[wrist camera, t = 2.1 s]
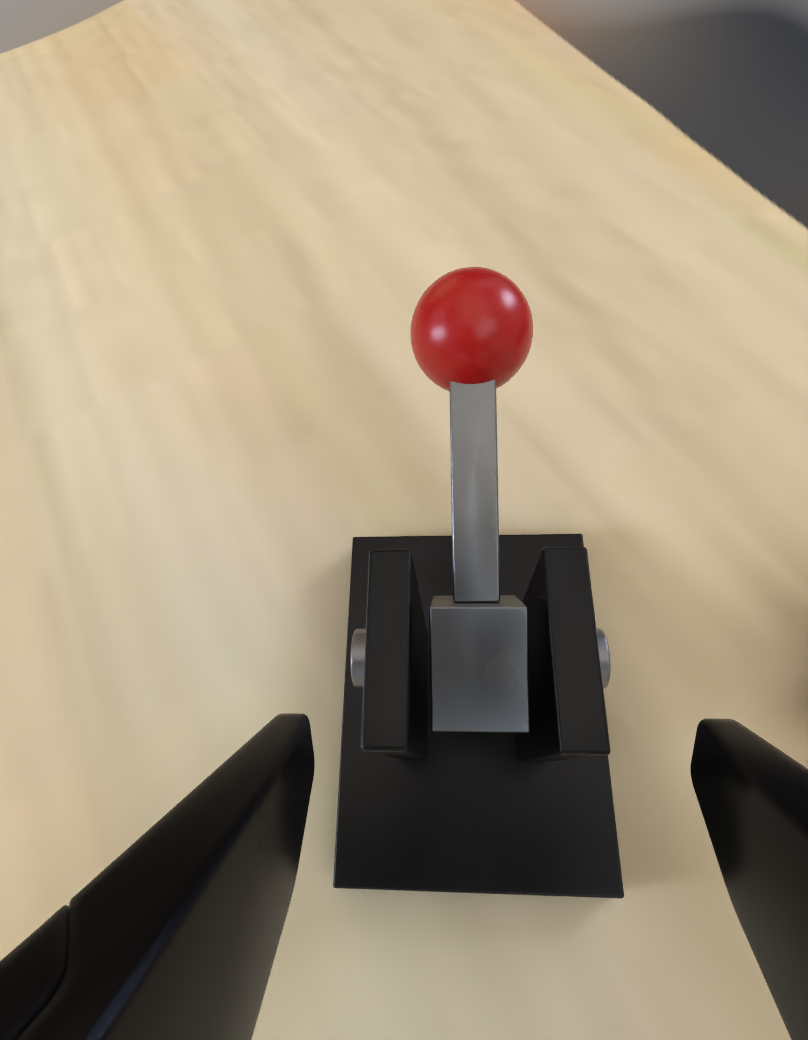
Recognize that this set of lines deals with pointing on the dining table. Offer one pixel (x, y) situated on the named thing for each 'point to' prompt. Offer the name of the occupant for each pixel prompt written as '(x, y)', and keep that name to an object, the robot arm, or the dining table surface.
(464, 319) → the switch lever
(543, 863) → the switch bracket
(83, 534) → the dining table surface
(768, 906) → the robot arm
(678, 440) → the dining table surface
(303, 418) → the dining table surface
